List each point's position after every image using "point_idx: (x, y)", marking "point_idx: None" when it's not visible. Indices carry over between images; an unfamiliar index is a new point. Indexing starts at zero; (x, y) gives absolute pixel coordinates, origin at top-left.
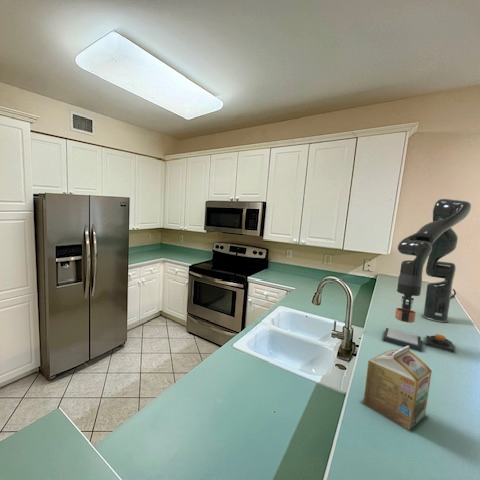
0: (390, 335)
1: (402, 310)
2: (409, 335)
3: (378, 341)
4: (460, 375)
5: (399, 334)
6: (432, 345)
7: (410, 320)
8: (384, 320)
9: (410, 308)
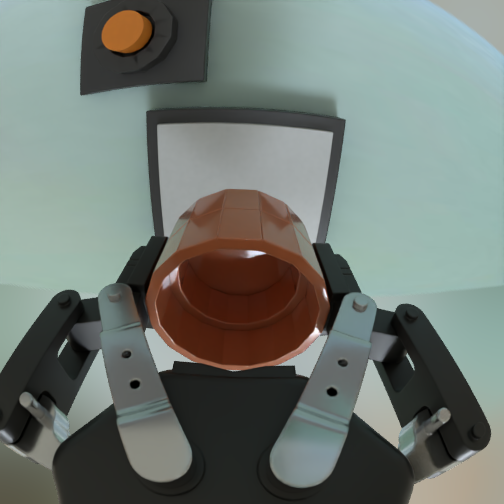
0: None
1: (401, 361)
2: (203, 161)
3: None
4: (461, 48)
5: None
6: (206, 59)
7: (305, 229)
8: (29, 251)
9: (367, 345)
